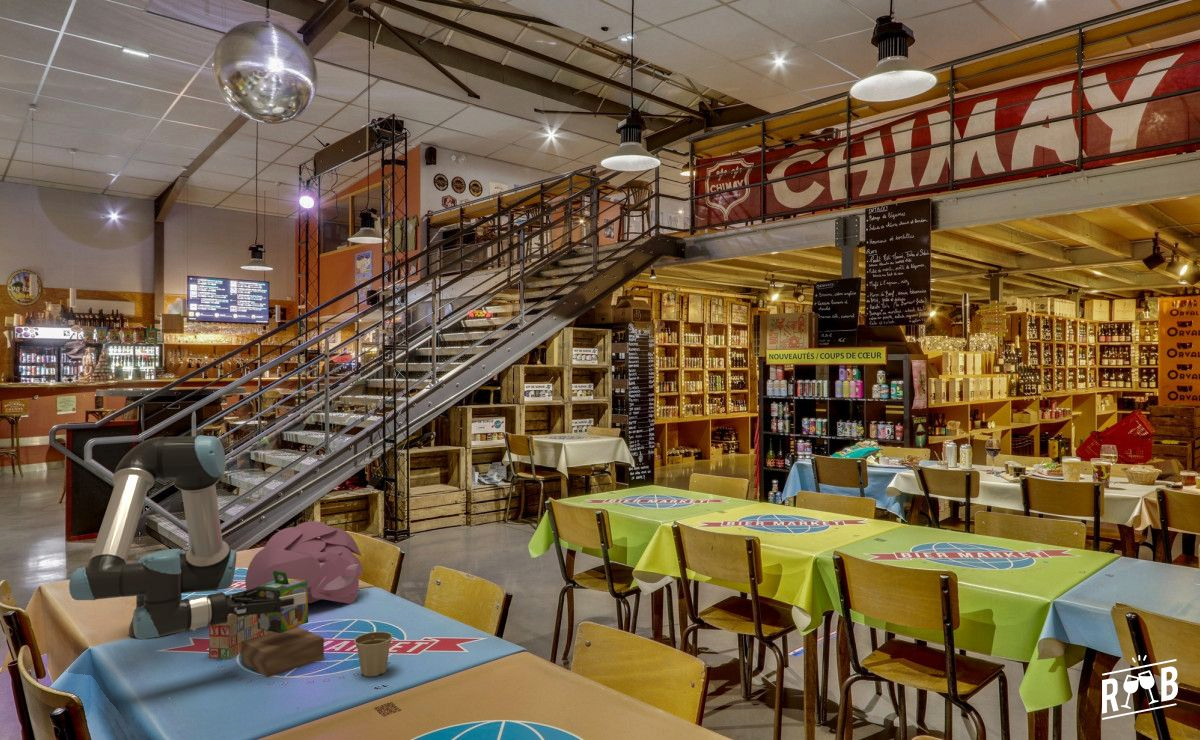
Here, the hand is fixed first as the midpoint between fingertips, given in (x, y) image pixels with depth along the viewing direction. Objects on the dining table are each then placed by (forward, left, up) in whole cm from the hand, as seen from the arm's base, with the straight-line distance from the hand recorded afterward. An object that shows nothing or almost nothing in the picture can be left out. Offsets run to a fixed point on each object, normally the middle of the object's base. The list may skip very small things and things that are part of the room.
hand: (297, 593), depth 192 cm
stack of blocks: (-20, -8, -17) cm, 28 cm away
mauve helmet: (-45, +20, -17) cm, 52 cm away
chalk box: (0, -4, -8) cm, 9 cm away
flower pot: (+24, +11, -17) cm, 31 cm away
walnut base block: (0, -4, -17) cm, 18 cm away
